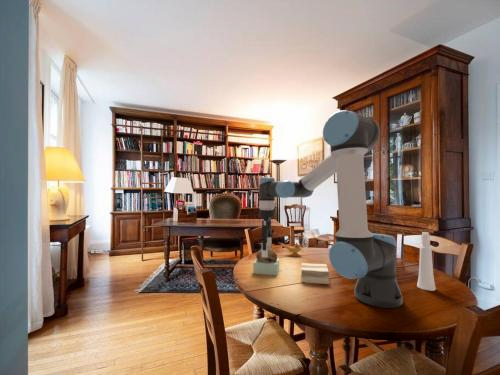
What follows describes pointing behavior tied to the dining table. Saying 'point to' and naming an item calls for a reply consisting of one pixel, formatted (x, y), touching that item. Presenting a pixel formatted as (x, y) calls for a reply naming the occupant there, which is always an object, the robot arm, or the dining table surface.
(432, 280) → the cosmetic bottle
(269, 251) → the brown domed lump
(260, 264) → the green block
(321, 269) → the beech block
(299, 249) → the magic lamp
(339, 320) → the dining table surface
